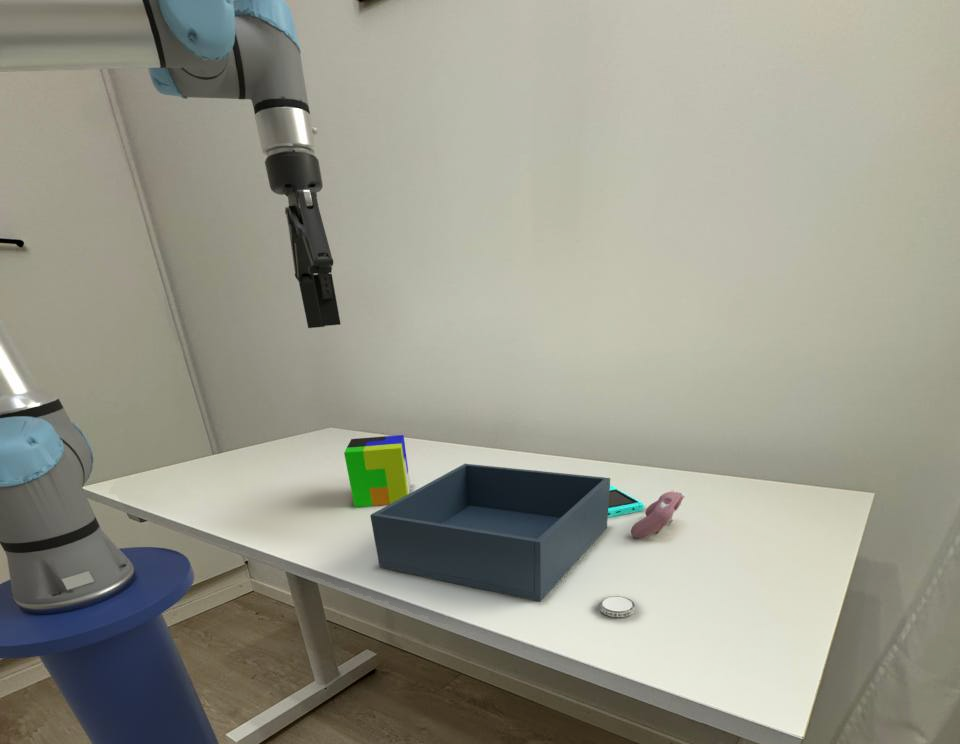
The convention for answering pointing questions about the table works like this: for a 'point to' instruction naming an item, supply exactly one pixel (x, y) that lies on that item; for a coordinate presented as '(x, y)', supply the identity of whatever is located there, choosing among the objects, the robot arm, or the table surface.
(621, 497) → the handheld game console
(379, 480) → the puzzle toy
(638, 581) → the table surface
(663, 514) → the video game controller
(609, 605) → the white grey disc
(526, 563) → the bin
